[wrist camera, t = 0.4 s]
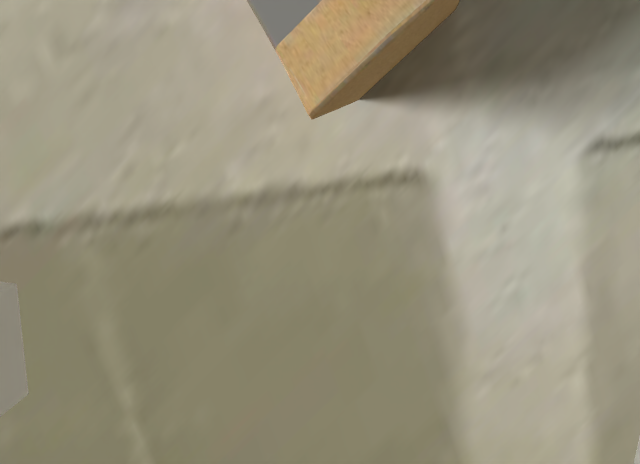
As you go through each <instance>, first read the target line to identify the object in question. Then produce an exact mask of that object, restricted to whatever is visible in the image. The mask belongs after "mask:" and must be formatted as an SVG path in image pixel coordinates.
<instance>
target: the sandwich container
mask: <svg viewBox="0 0 640 464" xmlns="http://www.w3.org/2000/svg"><path fill="white" fill-rule="evenodd" d="M247 1H248V3H249V5H250V7H251V8H252V10H253V12H254V14H255V15H256V17H257V19H258V20H259V22H260V24H261V26H262V27H263V29H264V31H265V33H266V35H267V36H268V38H269V40H270V42H271V43H272V45H273V47H274V49H275V50H276V52H277V54H278V56H279V58H280V60H281V62H282V64H283V66H284V68H285V70H286V72H287V74H288V76H289V78H290V80H291V82H292V83H293V85H294V87H295V89H296V91H297V93H298V95H299V97H300V99H301V101H302V103H303V105H304V107H305V109H306V111H307V113H308V115H309V116H310V118H311V119H315V118H317V117H319V116H322V115H324V114H327V113H329V112H331V111H334V110H336V109H339V108H341V107H343V106H346V105H348V104H351V103H353V102H355V101H357V100H359V99H360V98H361V97H362V96H363V95H364V94H365V93H366V92H368V91H369V90H370V89H371V88H372V87H373V86H374V85H375V84H376V83H377V82H378V81H379V80H380V79H382V78H383V77H384V76H385V75H386V74H387V73H388V72H389V71H390V70H391V69H392V68H393V67H395V66H396V65H397V64H398V63H399V62H400V61H401V60H402V59H403V58H404V57H405V56H406V55H407V54H409V53H410V52H411V51H412V50H413V49H414V48H415V47H416V46H417V45H418V44H419V43H420V42H421V41H422V40H424V39H425V38H426V37H427V36H428V35H429V34H430V33H431V32H432V31H433V30H434V29H435V28H436V27H437V26H438V25H440V24H441V23H442V22H443V21H444V20H445V19H446V18H447V17H448V16H449V15H450V14H451V13H452V12H453V11H454V10H456V8H457V6H458V3H459V1H460V0H247Z"/></svg>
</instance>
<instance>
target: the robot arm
mask: <svg viewBox="0 0 640 464" xmlns="http://www.w3.org/2000/svg"><path fill="white" fill-rule="evenodd" d="M28 394H29V393H28V384H27V375H26V366H25V356H24V347H23V338H22V328H21V319H20V310H19V301H18V291H17V284H16V283H7V282H0V416H2V415H3V414H4V413H5V412H7V411H8V410H9V409H10V408H12V407H13V406H14V405H15V404H17V403H18V402H19V401H20V400H22V399H23V398H24V397H25V396H27V395H28ZM634 464H640V438H639V442H638V447H637V451H636V456H635V460H634Z"/></svg>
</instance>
